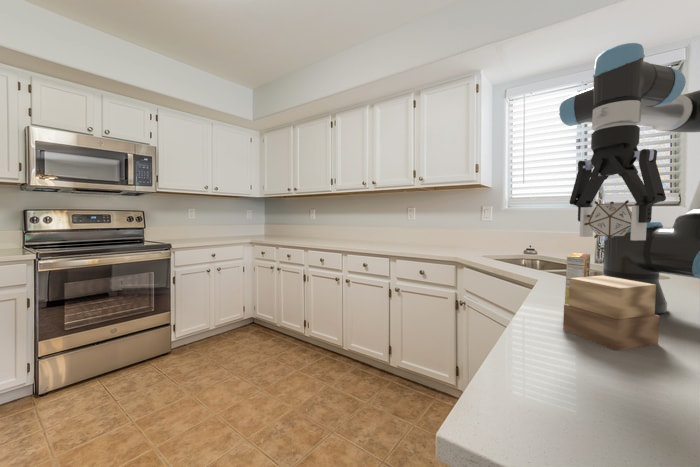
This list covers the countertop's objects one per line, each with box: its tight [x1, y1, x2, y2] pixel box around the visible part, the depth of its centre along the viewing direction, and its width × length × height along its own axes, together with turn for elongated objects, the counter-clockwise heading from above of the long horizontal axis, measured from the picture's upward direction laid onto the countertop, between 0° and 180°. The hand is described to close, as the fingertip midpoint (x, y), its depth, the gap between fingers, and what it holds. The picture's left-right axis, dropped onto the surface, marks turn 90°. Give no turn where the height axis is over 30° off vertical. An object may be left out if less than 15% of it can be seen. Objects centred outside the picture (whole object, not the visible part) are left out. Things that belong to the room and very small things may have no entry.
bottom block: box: [562, 303, 661, 351], centre depth 66 cm, size 11×11×6 cm
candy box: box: [564, 252, 591, 304], centre depth 81 cm, size 9×4×15 cm, turn 138°
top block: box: [569, 274, 656, 320], centre depth 66 cm, size 10×10×6 cm
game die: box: [584, 199, 632, 240], centre depth 65 cm, size 9×8×10 cm
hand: (610, 238), depth 65 cm, fingers closed on game die, 10 cm apart
